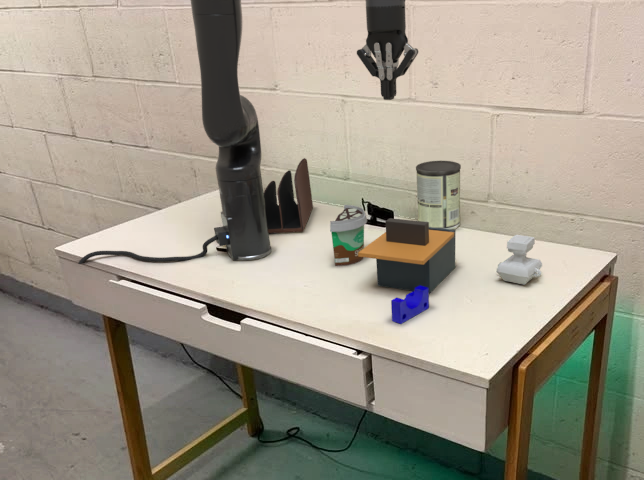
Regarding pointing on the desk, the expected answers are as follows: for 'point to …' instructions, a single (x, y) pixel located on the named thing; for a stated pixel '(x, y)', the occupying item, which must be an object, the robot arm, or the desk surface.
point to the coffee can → (439, 193)
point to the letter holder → (289, 202)
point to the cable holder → (410, 304)
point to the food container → (348, 235)
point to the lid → (407, 242)
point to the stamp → (519, 261)
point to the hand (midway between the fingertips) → (389, 99)
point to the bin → (418, 269)
